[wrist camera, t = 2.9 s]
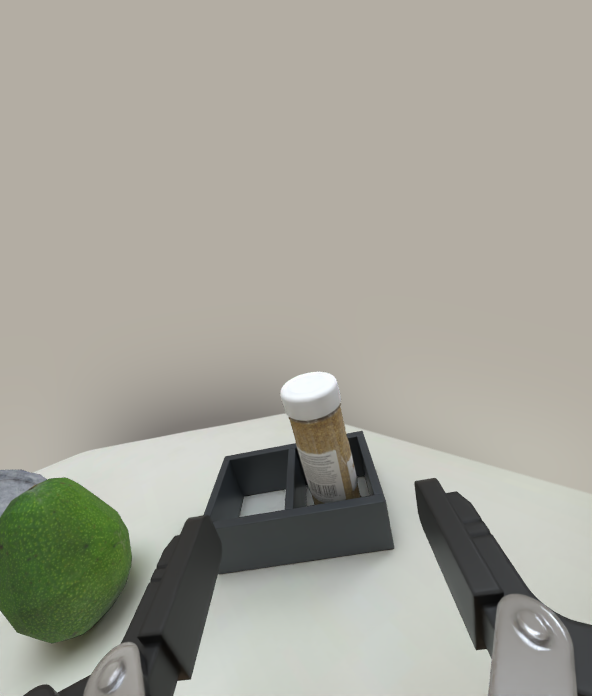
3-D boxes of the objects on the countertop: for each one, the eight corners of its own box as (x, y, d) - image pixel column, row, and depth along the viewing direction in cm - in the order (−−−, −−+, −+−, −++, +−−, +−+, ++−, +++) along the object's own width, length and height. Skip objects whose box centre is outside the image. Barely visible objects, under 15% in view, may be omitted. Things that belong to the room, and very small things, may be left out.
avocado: (163, 546, 27) (107, 445, 23) (117, 658, 19) (22, 537, 16) (85, 562, 27) (16, 466, 23) (10, 679, 20) (-109, 566, 16)
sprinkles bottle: (373, 502, 26) (348, 373, 21) (346, 544, 23) (310, 404, 19) (334, 482, 29) (305, 366, 25) (305, 516, 26) (267, 392, 22)
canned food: (79, 535, 37) (89, 462, 36) (45, 610, 27) (58, 512, 27) (-41, 548, 32) (-31, 464, 32) (-130, 643, 23) (-118, 526, 22)
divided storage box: (369, 469, 30) (362, 430, 28) (394, 548, 22) (386, 501, 20) (239, 492, 31) (224, 456, 29) (218, 574, 23) (197, 531, 21)
